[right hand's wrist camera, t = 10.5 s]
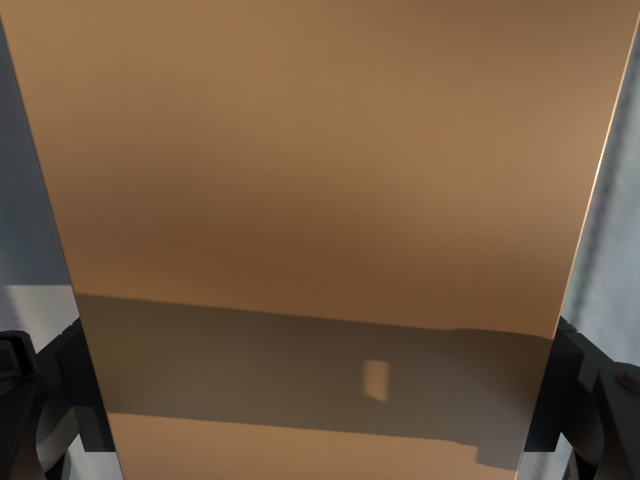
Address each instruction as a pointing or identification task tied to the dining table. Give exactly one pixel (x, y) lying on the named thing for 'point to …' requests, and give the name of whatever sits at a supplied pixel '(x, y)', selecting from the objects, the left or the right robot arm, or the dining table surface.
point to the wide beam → (319, 220)
